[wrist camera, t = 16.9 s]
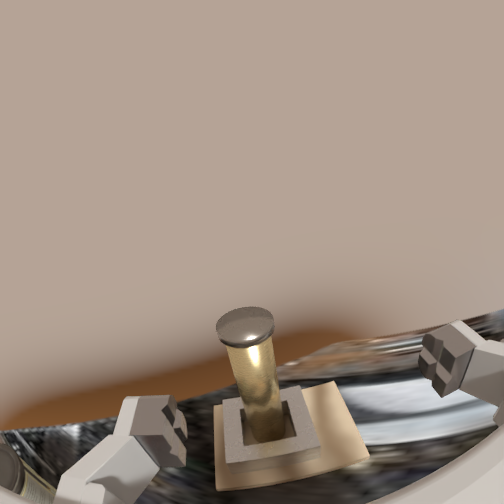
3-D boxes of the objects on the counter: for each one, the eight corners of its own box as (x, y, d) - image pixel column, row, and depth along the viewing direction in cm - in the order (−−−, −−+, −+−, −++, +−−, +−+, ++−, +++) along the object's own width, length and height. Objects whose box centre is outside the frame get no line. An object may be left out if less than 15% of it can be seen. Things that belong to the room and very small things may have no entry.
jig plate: (333, 384, 43) (333, 381, 42) (368, 458, 27) (369, 455, 27) (215, 409, 42) (213, 405, 41) (217, 491, 26) (216, 488, 26)
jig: (300, 399, 40) (299, 385, 39) (320, 457, 29) (320, 445, 28) (227, 413, 39) (222, 399, 38) (231, 474, 28) (225, 463, 27)
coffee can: (33, 540, 11) (-38, 492, 7) (39, 492, 21) (-19, 438, 16) (86, 555, 13) (10, 513, 8) (88, 500, 22) (27, 446, 18)
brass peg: (284, 412, 38) (268, 302, 31) (292, 442, 32) (278, 332, 26) (246, 420, 37) (215, 312, 31) (251, 450, 32) (216, 344, 25)
